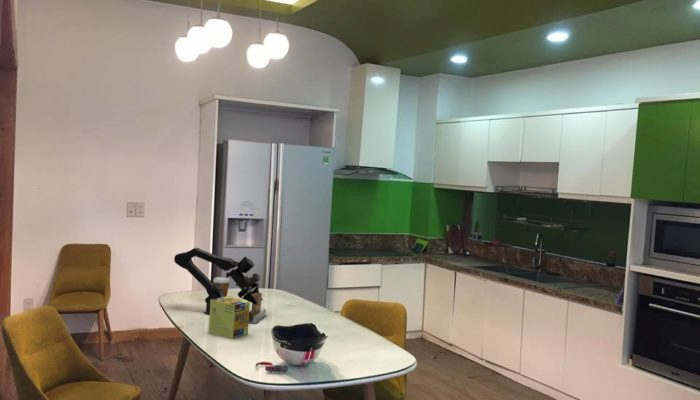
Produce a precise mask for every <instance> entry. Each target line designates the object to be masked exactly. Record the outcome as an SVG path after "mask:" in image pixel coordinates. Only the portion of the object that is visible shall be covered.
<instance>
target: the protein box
mask: <svg viewBox="0 0 700 400" xmlns="http://www.w3.org/2000/svg"><path fill="white" fill-rule="evenodd" d="M250 304H251V302H249V301H247V300H244V299H241V298H234V297H230V296H227V297H222V298H216V299H211V300H210V315H209V318H208V333H209V334H213V335H217V336H221V337H224V338H229V339H232V340H234V339H237V338H240V337H244V336H248V335H249V325H250V324H249V311H250V306H251V305H250Z"/></svg>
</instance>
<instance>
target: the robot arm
mask: <svg viewBox="0 0 700 400" xmlns="http://www.w3.org/2000/svg"><path fill="white" fill-rule="evenodd" d="M194 257H197V258H199V259H202V260H204V261H206V262H209V263H210V264H211V263H212V264H214V265H216V266H217V268H219V269H220V270H223V271H224V272H225V274H226V275H225V277H226V278H231V279H232V280H233V281H234V283H235V286H236V287H239V289H240V291H238V292H237V297H238V299H241V300H245V301H249V302H250V304H252V303H253V304H255V305H256V304H257V302H256V300H255V299H254V297H253V294H254V293H256V292H257V293H260V290H259V289H260V283H259V281H261V278H260V277H261V276H260V275H259V274H258V273H253V274H252V276H250V277H249V276H248V275H247V276H245V274H247V273H248V272H249V271H251V270H252V269H253V268H254V267H255V263H254V261H253V260H251V259H250V258H248V257H247V256H244V257H243V258H242V259H241V260H239V261H236V260H234V259H233V258H231V257H230V258H229V257H224V256H218V255H216V254H213V253H212V252H210V251H209V252H208V251H205V250H203V249H201V248H199V247H194V248H192V249H191V250H188V251H186V252H185V251H183V252H180V253H177V254H175V255H174V260H173V261H174V263H175V264H176V265H178V266H179V267H180V268H183V269H184V270H186V271H187V272H188V273H189V274H190V275H191V276H193V278H194V279H196V281H197V282H199V284H200V285H201V286H202V287H203V288H204V289H205V291H206V294H207V295H208V296H207V297H205V298H204V303H206V304H205V305H206V306H205V311H204V312H203V314H206V315H209V316H210V300H211V299H216V298H222V297H223V296H224V294H225V293H224V292H225V291H224V289H223V287H222V286H221V285H220V284H219V283H216V284H214V282H213V281H212V280H211V279H209V277H207V276H206V274H205V273H203V272H202V271H201V270H200V268H198V267H197V266H196V264H195V263H194V262H193V261H194V260H193V258H194ZM228 271H229V272H228ZM262 301H263V297H262V296H261V302H262Z"/></svg>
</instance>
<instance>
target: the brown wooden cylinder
mask: <svg viewBox="0 0 700 400" xmlns="http://www.w3.org/2000/svg"><path fill="white" fill-rule="evenodd" d="M212 282H213V283H214V284H216V283H219V284H220V285H221V286H222V287H223V289H224V291H225V292H224V293H225V294H224V296H223V297H228V291H229V285H230V282H231V280H230V277H228V278H226V276H225V277H224V276H219V277H218V276H217V277H214V279H213V281H212Z"/></svg>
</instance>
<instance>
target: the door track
mask: <svg viewBox="0 0 700 400" xmlns="http://www.w3.org/2000/svg"><path fill="white" fill-rule="evenodd" d="M251 312H252V308H251V309H249V325H257V324H258V323H259V322H260V321H262V320H263V319H265V318H266V317H267V314H266V313H267V308H263V309H262V310H261V311H260V312H259V313H258V314H256V315H255V316H254V317H253V318H251Z"/></svg>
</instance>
